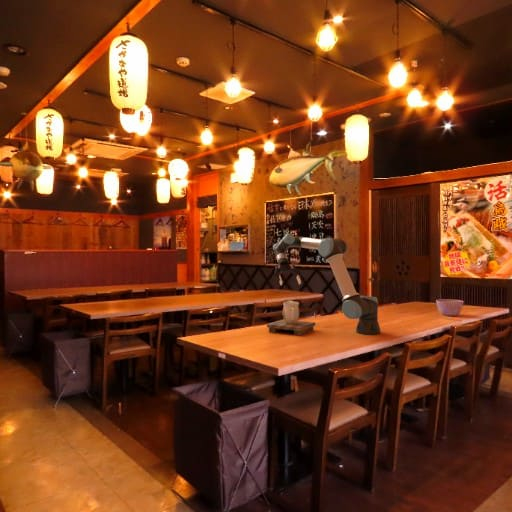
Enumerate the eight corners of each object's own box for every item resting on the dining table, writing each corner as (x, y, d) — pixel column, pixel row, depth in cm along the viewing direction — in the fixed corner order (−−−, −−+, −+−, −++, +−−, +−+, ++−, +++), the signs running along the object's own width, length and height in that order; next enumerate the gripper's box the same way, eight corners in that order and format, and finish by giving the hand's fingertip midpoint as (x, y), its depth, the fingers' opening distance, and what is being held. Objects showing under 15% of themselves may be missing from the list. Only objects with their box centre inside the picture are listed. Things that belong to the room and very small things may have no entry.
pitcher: (284, 326, 268) (284, 304, 268) (281, 320, 286) (281, 300, 286) (302, 325, 269) (302, 304, 269) (297, 320, 287) (297, 300, 287)
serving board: (315, 329, 281) (315, 322, 281) (300, 336, 262) (300, 327, 262) (283, 326, 294) (283, 319, 293) (266, 332, 275) (266, 324, 275)
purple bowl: (468, 317, 325) (468, 302, 325) (442, 317, 326) (442, 302, 325) (456, 313, 345) (456, 299, 345) (431, 313, 346) (431, 299, 345)
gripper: (297, 264, 310) (306, 286, 297) (265, 264, 303) (272, 288, 289) (300, 257, 305) (309, 279, 291) (267, 257, 298) (275, 280, 284)
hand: (291, 283), depth 290 cm, fingers open, 13 cm apart
